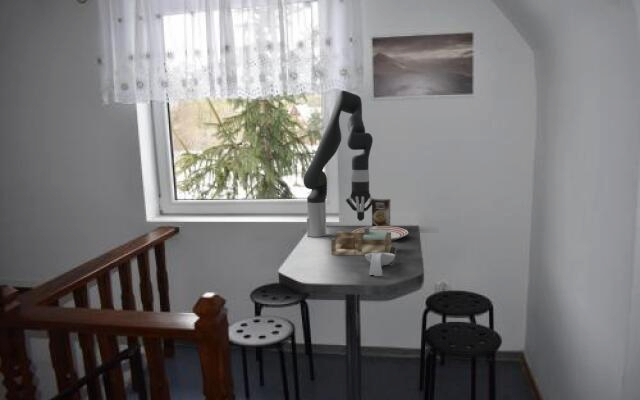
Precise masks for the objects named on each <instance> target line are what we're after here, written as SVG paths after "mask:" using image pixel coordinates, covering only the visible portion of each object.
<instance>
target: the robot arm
mask: <svg viewBox="0 0 640 400" xmlns="http://www.w3.org/2000/svg"><path fill="white" fill-rule="evenodd" d="M342 112H344V113H347V114H349V115H350V116H349V118H348V119H347V123H346V124H347V129H348V136H347V140H346V141H347V147H348V148H349V149H350V150H352V151H359V150H360V151H362V153H360V154H359V155H357V154H356V155H353V156H352V158H351V177H350V181H351V193H350V195H349V197H347V198H346V199H345V202H346V203H347V204H348V206H349V207H350V208H351V209H352V210H353V212H356V214H357V216H356V218H357V220H358V222H359V221H361V222H363V220H364V219H365V212H368V210H369V209H370V208H371V207H372V204H373V203H374V201H375V199H376V198H373V196H371V192H370V171H369V169H370V168H369V163H370V162H369V159H370V155H371V154H370V153H371V150H372V146H373V143H374V141H373V136H372V134H371V133H370V132H366V128H365V125H364V121H363V102H362V98H361V96H359V95H358V94H355V93H352V92H350V91H347V90H341V91H339V93H338V96H337V98H336V100H335V104H334V106H333V108H332V112H331V115H330V118H329V120H328V123H327V126H326V127H325V130H324V132H323V134H322V136H321V139H320V141H319V144H318V146H317V149H316V150H315V153H314V156H313V159H312V160H311V162H310V163H309V164H310V165H309V166H308V168H307V170H306V171H305V174H304V176H303V186H304V187H305V188H306V189H308V190H311V191H310V193H309V195H308V196H307V198H306V201H307V202H306V203H307V205H306V206H307V217H306V233H307V237H311V238H319V237H320V238H321V237H325V236H327V210H326V209H327V207H326V206H327V205H326V198H327V196H328V195H327V194H328V178H327V174H326V173H325V171H323V170H324V168H325V167H326V165H327V164H328V163H329V162H330V161H331V159H332V158H333V157H334V156H335V154H336V153H337V151H338V149H339V146H340V144H341V142H342V130H341V126H340V118H341V117H340V116H341V113H342ZM353 202H354V203H355V205H354V203H353ZM367 202H369V203H368V205H367V206H366V203H367Z"/></svg>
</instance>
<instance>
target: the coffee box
mask: <svg viewBox="0 0 640 400" xmlns="http://www.w3.org/2000/svg"><path fill="white" fill-rule="evenodd" d="M374 199H375V201H374V203H373V204H372V205H371V227H374V226H390V227H391V199H390V198H387V199H386V198H384V199H383V198H374Z"/></svg>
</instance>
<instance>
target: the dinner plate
mask: <svg viewBox="0 0 640 400" xmlns="http://www.w3.org/2000/svg"><path fill="white" fill-rule="evenodd" d="M365 227H366V226H365ZM365 227H360V228H359V227H358V228H357V229H354V230H353V231H352V232H364V228H365ZM369 230H388V232H391V242H392V241H396V240H399V239H401V238H404V237H406V236H408V234H409V231H408V230H407V229H406V228H405V229H404V228H401V227H398V226H391V225H390V226H374V227H372V226H369Z"/></svg>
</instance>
